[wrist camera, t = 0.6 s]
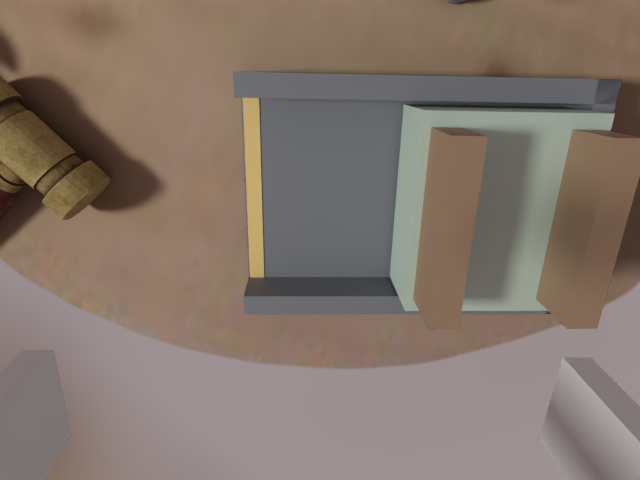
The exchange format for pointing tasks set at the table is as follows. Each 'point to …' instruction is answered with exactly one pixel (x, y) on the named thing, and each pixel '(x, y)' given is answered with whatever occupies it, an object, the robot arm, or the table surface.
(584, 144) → the mint green base plate
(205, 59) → the table surface
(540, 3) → the table surface
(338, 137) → the bay
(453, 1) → the rook chess piece
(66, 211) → the gavel
